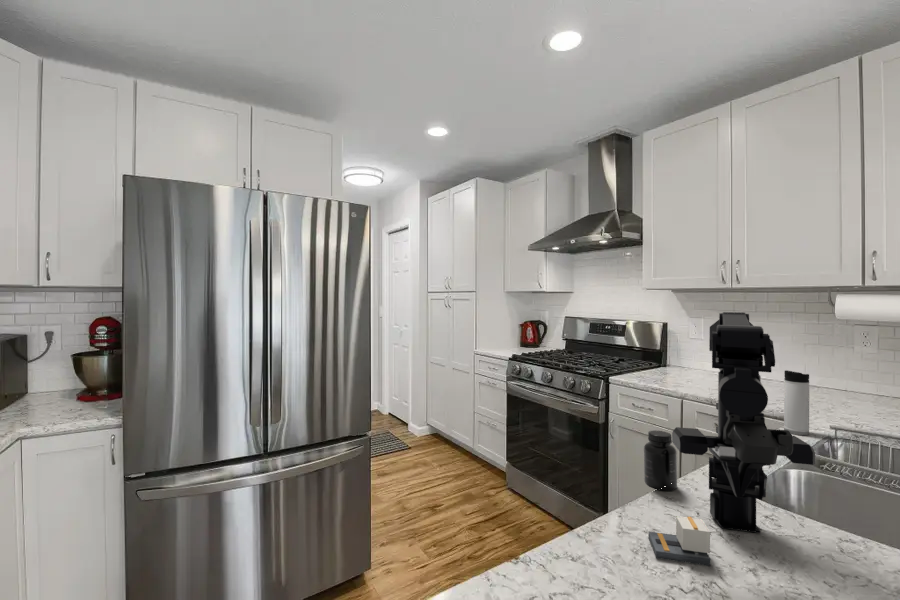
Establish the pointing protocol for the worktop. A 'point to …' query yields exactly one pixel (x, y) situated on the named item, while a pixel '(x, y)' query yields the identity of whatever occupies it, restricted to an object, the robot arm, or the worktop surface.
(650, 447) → the supplement bottle
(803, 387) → the travel mug
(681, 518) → the block
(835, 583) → the worktop surface
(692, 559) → the panel
